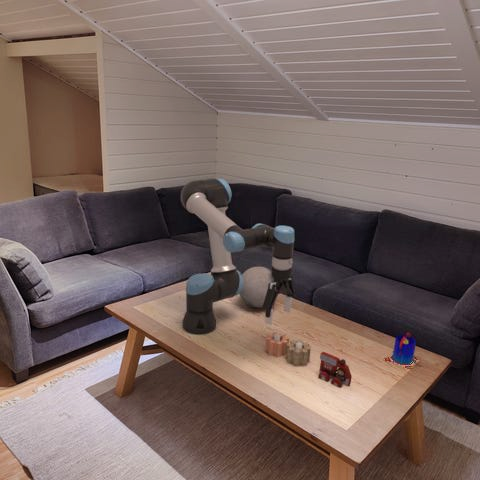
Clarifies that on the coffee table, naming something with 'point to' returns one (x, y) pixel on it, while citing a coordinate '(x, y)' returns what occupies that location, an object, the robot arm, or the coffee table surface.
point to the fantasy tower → (403, 350)
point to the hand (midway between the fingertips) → (278, 317)
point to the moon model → (255, 286)
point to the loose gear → (276, 345)
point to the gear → (298, 353)
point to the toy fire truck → (334, 370)
